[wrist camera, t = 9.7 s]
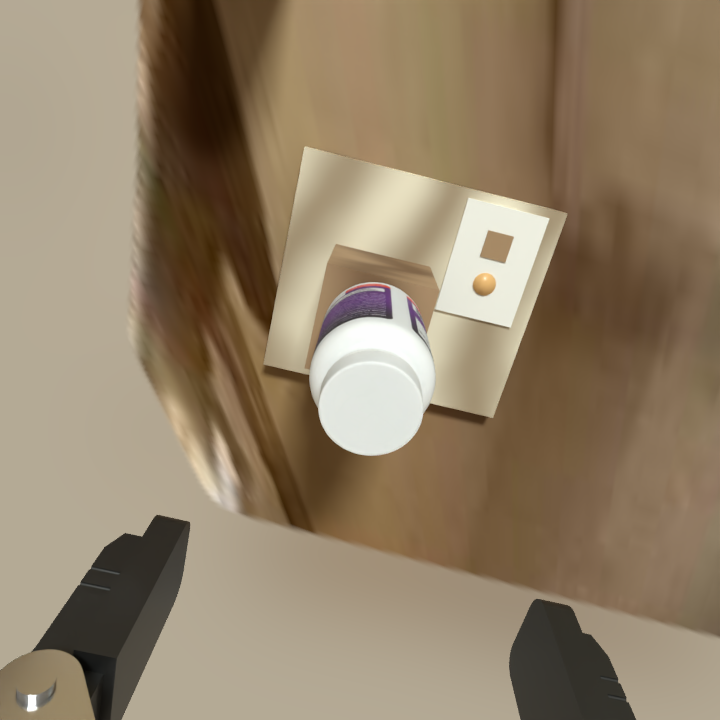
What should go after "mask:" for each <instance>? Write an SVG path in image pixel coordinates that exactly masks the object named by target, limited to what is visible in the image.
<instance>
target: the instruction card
mask: <svg viewBox="0 0 720 720" xmlns="http://www.w3.org/2000/svg"><path fill="white" fill-rule="evenodd" d="M548 221H549V218H546V217H542V216H538V215H534V214H530V213H526V212H522V211H519V210H515V209H511V208H507V207H503V206H499V205H495V204H491V203H487V202H483V201H479V200H475V199H471V198H468V199H467V203H466V206H465V209H464V213H463V216H462V219H461V223H460V226H459V229H458V233H457V236H456V239H455V243H454V246H453V249H452V253H451V256H450V259H449V263H448V266H447V269H446V273H445V276H444V279H443V283H442V286H441V289H440V293H439V296H438V299H437V303H436V306H435V309H436V310H440V311H444V312H448V313H452V314H457V315H461V316H465V317H469V318H473V319H477V320H481V321H485V322H490V323H494V324H498V325H502V326H506V327H510V328H511V325H512V322H513V320H514V317H515V314H516V311H517V308H518V306H519V303H520V300H521V297H522V294H523V292H524V289H525V286H526V283H527V280H528V278H529V275H530V272H531V269H532V266H533V264H534V261H535V258H536V255H537V252H538V250H539V247H540V244H541V241H542V238H543V236H544V233H545V230H546V227H547V224H548Z"/></svg>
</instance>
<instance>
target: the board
mask: <svg viewBox="0 0 720 720" xmlns="http://www.w3.org/2000/svg"><path fill="white" fill-rule="evenodd" d="M468 198H471V199H475V200H479V201H483V202H487V203H491V204H495V205H499V206H503V207H507V208H511V209H515V210H519V211H522V212H526V213H530V214H534V215H538V216H542V217H546V218H549V221H548V224H547V227H546V230H545V233H544V236H543V238H542V241H541V244H540V247H539V250H538V252H537V255H536V258H535V261H534V264H533V266H532V269H531V272H530V275H529V278H528V280H527V283H526V286H525V289H524V292H523V294H522V297H521V300H520V303H519V306H518V308H517V311H516V314H515V317H514V320H513V322H512V325H511V328H510V327H506V326H502V325H498V324H494V323H490V322H485V321H481V320H477V319H473V318H469V317H465V316H461V315H457V314H452V313H448V312H444V311H440V310H436V309H435V308H434V311H433V315H432V318H431V321H430V325H429V328H428V331H427V337H428V341H429V345H430V349H431V353H432V356H433V360H434V365H435V374H436V381H435V389H434V393H433V396H432V399H431V402H430V403H431V404H435V405H440V406H444V407H448V408H453V409H457V410H461V411H465V412H470V413H474V414H478V415H483V416H487V417H491V418H493V416H494V413H495V410H496V407H497V405H498V402H499V399H500V397H501V394H502V391H503V388H504V386H505V383H506V380H507V378H508V375H509V372H510V369H511V367H512V364H513V361H514V358H515V356H516V353H517V350H518V348H519V345H520V342H521V339H522V337H523V334H524V331H525V329H526V326H527V323H528V320H529V318H530V315H531V312H532V309H533V307H534V304H535V301H536V299H537V296H538V293H539V290H540V288H541V285H542V282H543V280H544V277H545V274H546V271H547V269H548V266H549V263H550V260H551V258H552V255H553V252H554V250H555V247H556V244H557V241H558V239H559V236H560V233H561V231H562V228H563V225H564V222H565V220H566V217H567V213H564V212H561V211H557V210H554V209H550V208H546V207H542V206H538V205H534V204H530V203H526V202H522V201H518V200H514V199H510V198H507V197H503V196H499V195H495V194H491V193H487V192H483V191H479V190H475V189H471V188H467V187H463V186H460V185H456V184H452V183H448V182H444V181H440V180H436V179H432V178H428V177H424V176H420V175H416V174H413V173H409V172H405V171H401V170H397V169H393V168H389V167H385V166H381V165H377V164H373V163H370V162H366V161H362V160H358V159H354V158H350V157H346V156H342V155H338V154H334V153H330V152H326V151H323V150H319V149H315V148H311V147H304V153H303V158H302V163H301V168H300V174H299V179H298V184H297V189H296V195H295V200H294V205H293V211H292V216H291V221H290V226H289V232H288V237H287V242H286V248H285V253H284V258H283V263H282V269H281V274H280V279H279V285H278V290H277V295H276V300H275V306H274V311H273V316H272V322H271V327H270V332H269V337H268V343H267V348H266V353H265V359H264V365H268V366H272V367H277V368H281V369H285V370H290V371H294V372H298V373H302V374H307V375H309V373H310V369H305V363H306V358H307V354H308V349H309V345H310V340H311V335H312V331H313V326H314V321H315V317H316V312H317V308H318V303H319V298H320V294H321V289H322V284H323V280H324V275H325V270H326V266H327V262H328V260H329V258H330V256H331V253H332V251H333V249H334V247H335V244H339V245H343V246H347V247H351V248H355V249H359V250H363V251H367V252H372V253H376V254H380V255H384V256H388V257H392V258H396V259H400V260H404V261H408V262H413V263H417V264H421V265H425V266H429V267H430V268H431V270H432V273H433V275H434V278H435V280H436V283H437V285H438V288H439V290H440V289H441V286H442V283H443V279H444V276H445V273H446V269H447V266H448V263H449V259H450V256H451V253H452V249H453V246H454V243H455V239H456V236H457V233H458V229H459V226H460V223H461V219H462V216H463V213H464V209H465V206H466V203H467V199H468ZM439 293H440V291H439ZM438 296H439V294H438ZM437 299H438V298H437ZM436 303H437V301H436ZM435 306H436V304H435Z"/></svg>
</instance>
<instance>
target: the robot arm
mask: <svg viewBox="0 0 720 720" xmlns="http://www.w3.org/2000/svg"><path fill="white" fill-rule="evenodd" d="M189 531H190V522H188V521H183V520H179V519H174V518H169V517H165V516H160V515H156V516H155V517H154V519H153V520H152V522H151V524H150V525H149V527H148V528H147V530H146V532H145V533H144V535H143V536H142V537H141V536H136V535H131V534H126V533H125V534H123V535H122V536H120V537H119V538H117V539H116V540H115V541H113V542H112V543H110V544H109V545H107V546H106V547H104V549H103V550H102V552H101V553H100V555H99V556H98V557H97V559H96V560H95V562H94V563H93V565H92V567H91V569H90V570H89V571H88V572H87V573H86V575H85V576H84V578H83V579H82V581H81V584H80V585H78V586H77V588H76V589H75V591H74V592H73V594H72V595H71V597H70V598H69V600H68V601H67V603H66V604H65V605H64V607H63V608H62V610H61V611H60V613H59V614H58V616H57V617H56V618H55V620H54V621H53V623H52V624H51V626H50V628H49V629H48V630H47V631H46V633H45V634H44V636H43V637H42V639H41V640H40V642H39V643H38V644H37V646H36V647H35V648H34V649H33V651H32V652H30V653H27V654H25V655H22V656H20V657H18V658H16V659H14V660H13V661H11V662H10V663H8V664H7V665H6V666H5V667H4V668H3V669H1V670H0V720H121V719H122V717H123V715H124V713H125V710H126V708H127V706H128V704H129V702H130V699H131V697H132V695H133V693H134V691H135V688H136V686H137V684H138V682H139V679H140V677H141V675H142V673H143V671H144V669H145V666H146V664H147V662H148V660H149V658H150V655H151V653H152V651H153V649H154V647H155V644H156V642H157V640H158V638H159V635H160V633H161V631H162V629H163V626H164V624H165V622H166V620H167V618H168V616H169V613H170V611H171V609H172V607H173V605H174V602H175V600H176V597H177V594H178V591H179V588H180V584H181V580H182V576H183V571H184V564H185V557H186V551H187V544H188V538H189ZM509 669H510V677H511V681H512V685H513V690H514V694H515V698H516V702H517V706H518V710H519V715H520V719H521V720H636V718H635V716H634V714H633V712H632V709H631V707H630V705H629V703H627V702H626V696H625V693H624V691H623V689H622V687H621V684H619V683H618V677H617V675H616V673H615V671H614V668H613V666H612V664H611V661H610V659H609V657H608V656H607V654H606V653H605V652H604V650H603V649H602V648H601V647H600V645H599V644H598V643H597V642H596V641H595V639H594V638H593V637H592V636H591V635H589V634H585V633H582V630H581V628H580V626H579V623H578V621H577V618H576V616H575V613H574V611H573V610H572V608H571V607H570V606H568V605H563V604H559V603H554V602H550V601H545V600H541V599H536V600H534V601H533V603H532V604H531V606H530V608H529V610H528V612H527V615H526V617H525V619H524V622H523V624H522V626H521V628H520V630H519V632H518V634H517V637H516V639H515V641H514V643H513V646H512V649H511V653H510V662H509Z"/></svg>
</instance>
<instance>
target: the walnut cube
mask: <svg viewBox="0 0 720 720" xmlns="http://www.w3.org/2000/svg"><path fill="white" fill-rule="evenodd" d="M367 282H379V283H385V284H389V285H392V286H394V287H396V288H398V289H400V290H402V291H403V292H405V293H406V294H407V295H408V296H409V297H410V298H411V299H412V300H413V301H414V303H415V304H416V305H417V307H418V309H419V311H420V313H421V316H422V318H423V322H424V325H425V329H426V333H427V331H428V328H429V325H430V321H431V318H432V315H433V311H434V308H435V304H436V301H437V298H438V294H439V291H440V290H439V288H438V285H437V283H436V280H435V278H434V275H433V273H432V270H431V268H430V267H429V266H425V265H421V264H417V263H413V262H408V261H404V260H400V259H396V258H392V257H388V256H384V255H380V254H376V253H372V252H367V251H363V250H359V249H355V248H351V247H347V246H343V245H339V244H335V247H334V249H333V251H332V253H331V256H330V258H329V260H328V262H327V266H326V270H325V275H324V280H323V284H322V289H321V294H320V298H319V303H318V308H317V312H316V317H315V321H314V326H313V331H312V335H311V340H310V345H309V349H308V354H307V358H306V363H305V369H310V366H311V361H312V357H313V354H314V350H315V347H316V344H317V341H318V338H319V334H320V331H321V327H322V323H323V320H324V317H325V314H326V312H327V310H328V308H329V306H330V305H331V303H332V302H333V301H334V299H335V298H336V297H337V296H338V295H340V294H341V293H342V292H343V291H345V290H346V289H348V288H350V287H352V286H355V285H358V284H361V283H367Z"/></svg>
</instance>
